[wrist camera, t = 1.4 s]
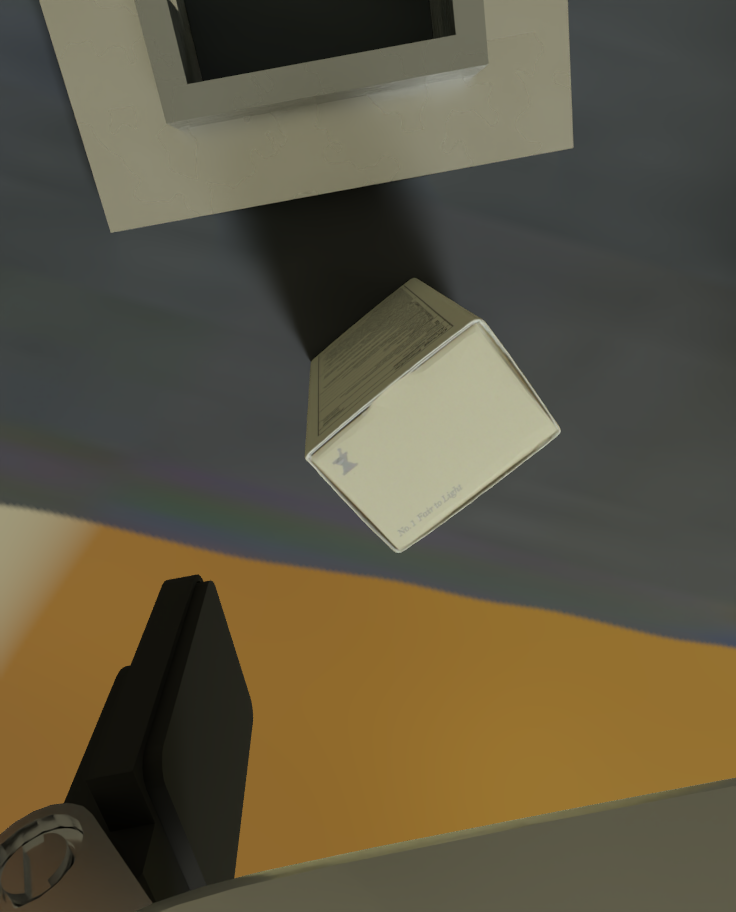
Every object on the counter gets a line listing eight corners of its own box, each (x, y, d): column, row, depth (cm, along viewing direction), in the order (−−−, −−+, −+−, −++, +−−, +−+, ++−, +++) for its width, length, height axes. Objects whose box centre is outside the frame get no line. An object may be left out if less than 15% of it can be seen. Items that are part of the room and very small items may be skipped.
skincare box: (367, 428, 30) (393, 566, 19) (305, 357, 29) (294, 460, 17) (474, 344, 29) (571, 437, 18) (415, 266, 27) (480, 313, 16)
